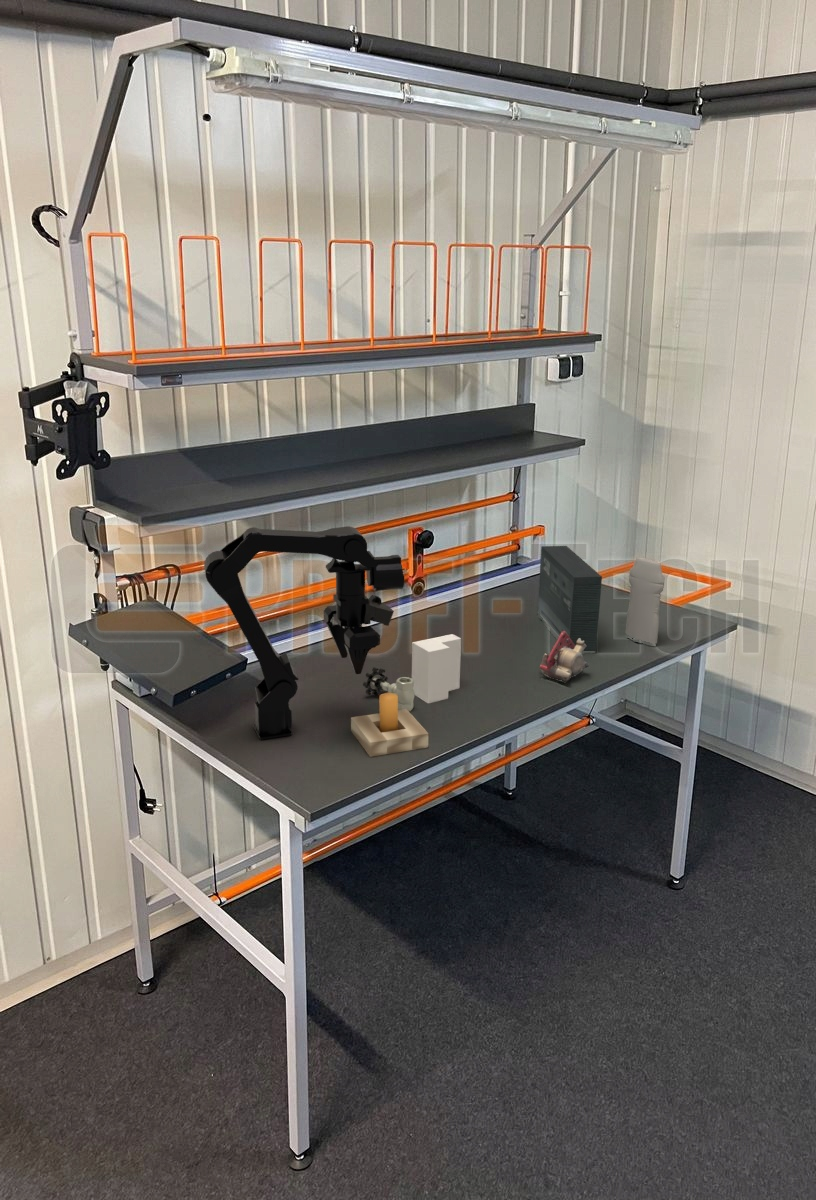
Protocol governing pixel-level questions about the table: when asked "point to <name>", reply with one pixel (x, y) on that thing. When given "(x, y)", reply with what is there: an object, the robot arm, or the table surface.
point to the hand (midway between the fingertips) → (351, 665)
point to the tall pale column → (644, 600)
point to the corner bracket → (436, 667)
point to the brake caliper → (564, 659)
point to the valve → (392, 688)
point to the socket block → (389, 734)
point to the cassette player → (569, 595)
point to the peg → (388, 712)
